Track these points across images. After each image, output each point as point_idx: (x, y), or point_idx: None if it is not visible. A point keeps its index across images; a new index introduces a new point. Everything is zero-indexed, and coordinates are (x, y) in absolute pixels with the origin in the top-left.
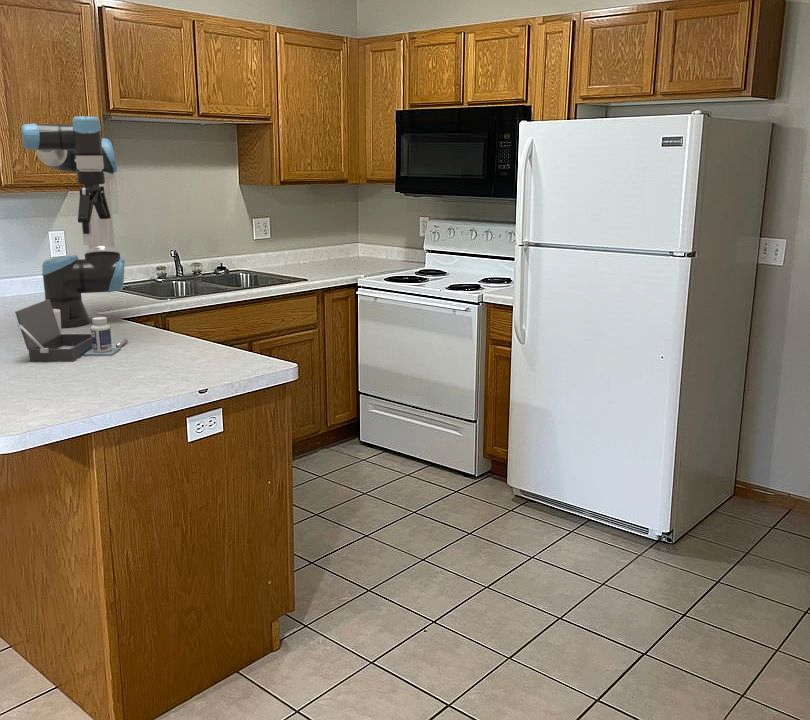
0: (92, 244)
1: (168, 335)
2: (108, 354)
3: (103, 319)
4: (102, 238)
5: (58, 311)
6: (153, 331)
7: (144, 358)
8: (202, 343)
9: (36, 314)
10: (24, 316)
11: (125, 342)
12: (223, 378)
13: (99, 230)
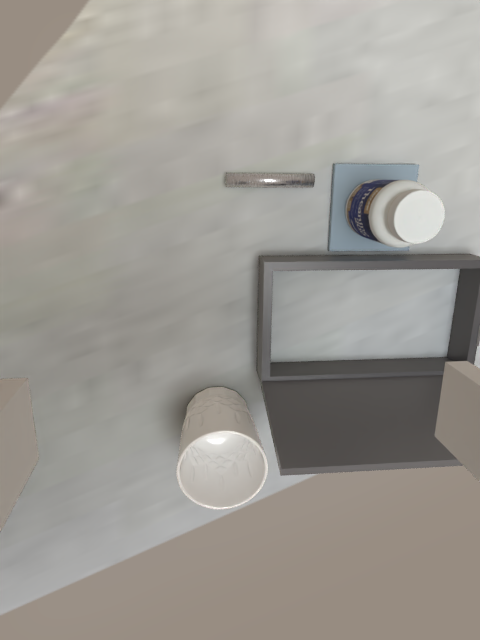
0: (469, 365)
1: (87, 53)
2: (417, 174)
3: (436, 195)
4: (28, 443)
5: (229, 430)
6: (13, 139)
7: (466, 40)
8: None
9: (408, 436)
10: None
11: (254, 173)
12: None
13: (2, 523)
